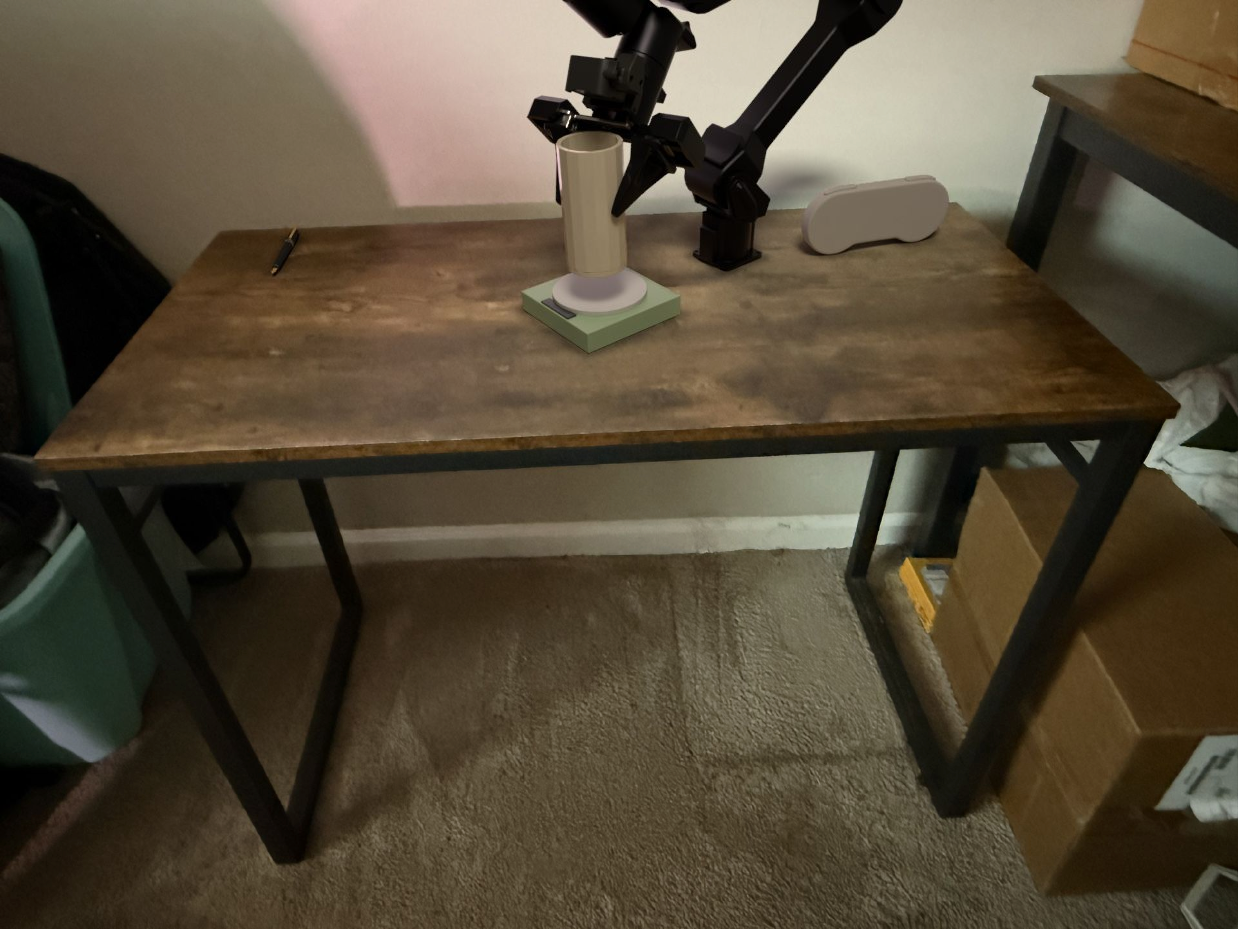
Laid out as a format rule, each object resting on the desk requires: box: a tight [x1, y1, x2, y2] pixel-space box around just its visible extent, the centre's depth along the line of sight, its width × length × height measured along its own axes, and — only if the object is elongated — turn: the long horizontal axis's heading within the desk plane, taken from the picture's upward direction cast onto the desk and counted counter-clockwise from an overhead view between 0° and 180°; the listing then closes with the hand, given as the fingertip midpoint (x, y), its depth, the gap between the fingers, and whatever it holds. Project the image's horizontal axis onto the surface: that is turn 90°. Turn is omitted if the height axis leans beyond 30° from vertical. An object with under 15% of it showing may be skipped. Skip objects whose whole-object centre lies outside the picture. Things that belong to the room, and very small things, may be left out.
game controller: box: [800, 174, 950, 255], centre depth 102 cm, size 20×2×8 cm, turn 105°
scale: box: [520, 266, 681, 354], centre depth 92 cm, size 13×13×3 cm
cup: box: [555, 131, 628, 278], centre depth 83 cm, size 6×6×13 cm
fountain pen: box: [271, 227, 299, 274], centre depth 108 cm, size 14×1×2 cm, turn 5°
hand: (585, 209), depth 82 cm, fingers closed on cup, 6 cm apart
